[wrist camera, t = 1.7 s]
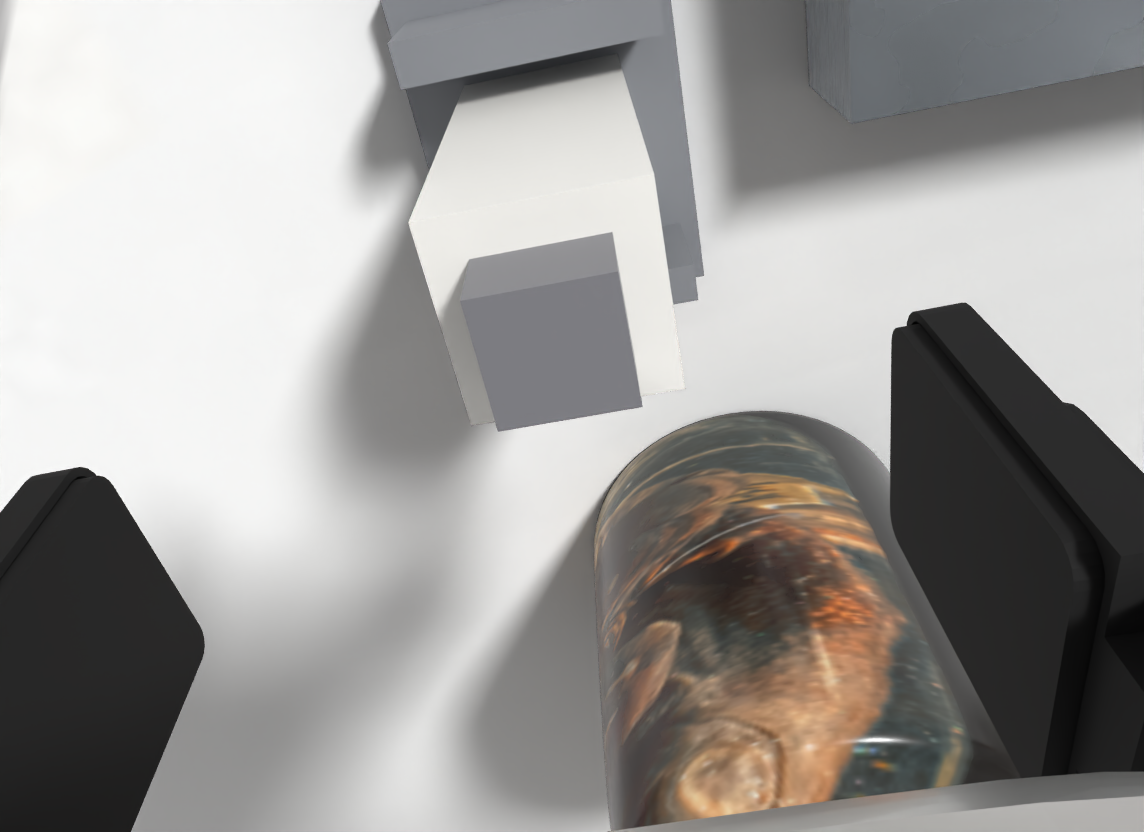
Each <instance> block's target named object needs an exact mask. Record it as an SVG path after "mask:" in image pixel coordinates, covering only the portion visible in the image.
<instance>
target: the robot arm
mask: <svg viewBox="0 0 1144 832" xmlns="http://www.w3.org/2000/svg"><path fill="white" fill-rule="evenodd" d="M890 517H891V523H892V527H893V531H894V534H895V537H896V540H897V542H898V544H899V546H900V548H901V550H902V552H903V553H904V555H905V557H906V559H907V561H908V563H909V565H910V567H911V569H912V571H913V573H914V574H915V576H916V578H917V580H918V582H919V584H920V586H921V588H922V590H923V592H924V594H925V595H926V597H927V599H928V601H929V603H930V605H931V607H932V609H933V611H934V613H935V615H936V616H937V618H938V620H939V622H940V624H941V626H942V628H943V630H944V632H945V634H946V635H947V637H948V639H949V641H950V643H951V645H952V647H953V649H954V651H955V653H956V655H957V656H958V658H959V660H960V662H961V664H962V666H963V668H964V670H965V672H966V674H967V676H968V677H969V679H970V681H971V683H972V685H973V687H974V689H975V691H976V693H977V695H978V697H979V698H980V700H981V702H982V704H983V706H984V708H985V710H986V712H987V714H988V716H989V718H990V719H991V721H992V723H993V725H994V727H995V729H996V731H997V733H998V735H999V737H1000V739H1001V740H1002V742H1003V744H1004V746H1005V748H1006V750H1007V752H1008V754H1009V756H1010V758H1011V759H1012V761H1013V763H1014V765H1015V767H1016V769H1017V771H1018V773H1019V775H1020V777H1021V778H1019V779H1006V780H996V781H988V782H980V783H972V784H964V785H956V786H947V787H939V788H931V789H923V790H915V791H907V792H899V793H890V794H882V795H874V796H866V797H858V798H850V799H841V800H833V801H825V802H817V803H809V804H802V805H795V806H788V807H781V808H774V809H766V810H759V811H752V812H745V813H738V814H731V815H723V816H716V817H709V818H702V819H695V820H688V821H680V822H673V823H666V824H659V825H652V826H645V827H637V828H630V829H623V830H616V831H609V832H1144V473H1143V472H1142V471H1141V470H1140V469H1139V468H1138V467H1137V466H1136V465H1135V464H1134V463H1133V462H1132V461H1131V460H1130V459H1129V458H1128V457H1127V456H1126V455H1125V454H1124V453H1123V452H1122V451H1121V450H1120V449H1119V448H1118V447H1117V446H1116V445H1115V444H1114V443H1113V442H1112V441H1111V440H1110V438H1109V437H1108V436H1107V435H1106V434H1105V433H1104V432H1103V431H1102V430H1101V429H1100V428H1099V427H1098V426H1097V425H1096V424H1095V423H1094V422H1093V421H1092V420H1091V419H1090V418H1089V417H1088V416H1087V415H1086V414H1085V413H1084V412H1083V411H1082V410H1080V409H1079V408H1078V407H1076V406H1075V405H1074V404H1069V403H1064V402H1062V401H1061V400H1060V399H1059V398H1058V397H1057V396H1056V395H1055V394H1054V393H1053V392H1052V391H1051V390H1050V388H1049V387H1048V386H1047V385H1046V384H1045V383H1044V382H1043V381H1042V380H1041V379H1040V378H1039V377H1038V376H1037V375H1036V374H1035V373H1034V372H1033V371H1032V370H1031V369H1030V368H1029V367H1028V365H1027V364H1026V363H1025V362H1024V361H1023V360H1022V359H1021V358H1020V357H1019V356H1018V355H1017V354H1016V353H1015V352H1014V351H1013V350H1012V349H1011V348H1010V347H1009V346H1008V345H1007V344H1006V343H1005V341H1004V340H1003V339H1002V338H1001V337H1000V336H999V335H998V334H997V333H996V332H995V331H994V330H993V329H992V328H991V327H990V326H989V325H988V324H987V323H986V322H985V321H984V320H983V319H982V317H981V316H980V315H979V314H978V313H977V312H976V311H975V310H974V309H973V308H972V307H971V306H970V305H968V304H967V303H958V304H953V305H947V306H942V307H936V308H931V309H926V310H920V311H915V312H912V313H911V314H910V315H909V318H908V321H907V326H904V327H899V328H895V330H894V331H893V334H892V352H891V449H890ZM204 646H205V645H204V636H203V632H202V630H201V627H200V625H199V624H198V622H197V621H196V619H195V617H194V616H193V614H192V612H191V611H190V609H189V608H188V606H187V604H186V603H185V601H184V599H183V598H182V596H181V595H180V593H179V591H178V590H177V588H176V587H175V585H174V583H173V582H172V580H171V578H170V577H169V575H168V574H167V572H166V570H165V569H164V567H163V566H162V564H161V562H160V561H159V559H158V557H157V556H156V554H155V553H154V551H153V549H152V548H151V546H150V544H149V543H148V541H147V540H146V538H145V536H144V535H143V533H142V532H141V530H140V528H139V527H138V525H137V523H136V522H135V520H134V519H133V517H132V515H131V514H130V512H129V510H128V509H127V507H126V506H125V504H124V502H123V501H122V499H121V498H120V496H119V494H118V493H117V491H116V489H115V488H114V486H113V485H112V484H111V482H110V481H109V480H108V479H106V478H105V477H102V476H96V474H95V473H94V472H92V471H91V470H89V469H88V468H83V467H78V468H72V469H67V470H62V471H56V472H51V473H45V474H40V475H36V476H32V477H31V478H29V479H28V480H27V481H26V482H25V483H24V484H23V485H22V486H21V488H20V489H19V490H18V491H17V493H16V494H15V495H14V496H13V498H12V499H11V500H10V501H9V503H8V504H7V505H6V506H5V507H4V509H3V510H2V511H1V512H0V832H131V830H132V827H133V825H134V823H135V820H136V818H137V815H138V813H139V811H140V808H141V806H142V803H143V801H144V798H145V796H146V794H147V791H148V789H149V786H150V784H151V781H152V779H153V777H154V774H155V772H156V769H157V767H158V765H159V762H160V760H161V757H162V755H163V752H164V750H165V748H166V745H167V743H168V740H169V738H170V736H171V733H172V731H173V728H174V726H175V723H176V721H177V719H178V716H179V714H180V711H181V709H182V707H183V704H184V702H185V699H186V697H187V694H188V692H189V690H190V687H191V685H192V682H193V680H194V677H195V675H196V673H197V670H198V668H199V665H200V663H201V661H202V658H203V654H204Z"/></svg>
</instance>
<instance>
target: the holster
mask: <svg viewBox="0 0 1144 832" xmlns="http://www.w3.org/2000/svg"><path fill="white" fill-rule="evenodd" d="M380 1H381V4H382V8H383V11H384V15H385V18H386V22H387V25H388V28H389V32H390V35H391V40H390V41H389V42H388V43H387V45H388V48H389V51H390V55H391V58H392V62H393V65H394V69H395V72H396V76H397V79H398V82H399V86H400V89H401V90H403V89H406V91H407V95H408V98H409V102H410V105H411V109H412V112H413V116H414V119H415V123H416V126H417V130H418V133H419V137H420V140H421V144H422V147H423V150H424V154H425V157H426V161H427V164H428V168H429V171H430V168H431V166H432V163H433V161H434V159H435V156H436V154H437V151H438V149H439V146H440V144H441V141H442V139H443V137H444V134H445V132H446V129H447V127H448V124H449V122H450V119H451V117H452V115H453V112H454V110H455V107H456V105H457V102H458V100H459V97H460V95H461V93H462V90H463V88H464V86H465V85H470V84H475V83H480V82H484V81H489V80H494V79H499V78H503V77H508V76H513V75H518V74H522V73H527V72H532V71H537V70H542V69H546V68H551V67H556V66H561V65H565V64H570V63H575V62H580V61H584V60H589V59H594V58H599V57H603V56H608V55H613V54H617V55H618V58H619V61H620V65H621V68H622V71H623V74H624V78H625V81H626V84H627V87H628V91H629V94H630V97H631V100H632V104H633V107H634V110H635V113H636V117H637V120H638V123H639V126H640V130H641V133H642V136H643V139H644V143H645V146H646V149H647V152H648V156H649V159H650V162H651V165H652V169H653V172H654V176H655V183H656V190H657V197H658V204H659V211H660V218H661V224H662V231H663V238H664V245H665V252H666V259H667V266H668V273H669V280H670V287H671V294H672V300H673V304H678V303H684V302H689V301H695V300H698V294H697V286H696V278H695V277H700V276H704V271H703V263H702V254H701V246H700V238H699V229H698V221H697V213H696V205H695V196H694V188H693V180H692V172H691V163H690V155H689V147H688V138H687V130H686V122H685V114H684V105H683V97H682V89H681V81H680V72H679V64H678V56H677V47H676V39H675V31H674V23H673V14H672V6H671V0H380Z"/></svg>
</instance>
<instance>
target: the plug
mask: <svg viewBox="0 0 1144 832" xmlns="http://www.w3.org/2000/svg"><path fill="white" fill-rule="evenodd" d="M408 224H409V227H410V230H411V233H412V237H413V240H414V243H415V246H416V250H417V253H418V256H419V259H420V262H421V266H422V269H423V272H424V275H425V279H426V282H427V285H428V288H429V291H430V295H431V298H432V301H433V304H434V308H435V311H436V314H437V317H438V320H439V324H440V327H441V330H442V333H443V337H444V340H445V343H446V346H447V349H448V353H449V356H450V359H451V362H452V366H453V369H454V372H455V375H456V378H457V382H458V385H459V388H460V391H461V395H462V398H463V401H464V404H465V407H466V411H467V414H468V417H469V420H470V423H471V426H474V425H480V424H485V423H491V422H495V423H496V426H497V430H498V432H499V431H505V430H511V429H516V428H522V427H528V426H534V425H540V424H546V423H551V422H557V421H563V420H569V419H575V418H581V417H586V416H592V415H598V414H604V413H610V412H615V411H621V410H627V409H633V408H639V407H642V401H641V397H642V396H647V395H653V394H659V393H665V392H671V391H676V390H682V389H685V383H684V376H683V370H682V363H681V356H680V349H679V342H678V335H677V328H676V321H675V314H674V307H673V300H672V294H671V287H670V280H669V273H668V266H667V259H666V252H665V245H664V238H663V231H662V224H661V218H660V211H659V204H658V197H657V190H656V183H655V176H654V172H653V169H652V165H651V162H650V159H649V156H648V152H647V149H646V146H645V143H644V139H643V136H642V133H641V130H640V126H639V123H638V120H637V117H636V113H635V110H634V107H633V104H632V100H631V97H630V94H629V91H628V87H627V84H626V81H625V78H624V74H623V71H622V68H621V65H620V61H619V58H618V55H617V54H613V55H608V56H603V57H599V58H594V59H589V60H584V61H580V62H575V63H570V64H565V65H561V66H556V67H551V68H546V69H542V70H537V71H532V72H527V73H522V74H518V75H513V76H508V77H503V78H499V79H494V80H489V81H484V82H480V83H475V84H470V85H465V86H464V88H463V90H462V93H461V95H460V97H459V100H458V102H457V105H456V107H455V110H454V112H453V115H452V117H451V119H450V122H449V124H448V127H447V129H446V132H445V134H444V137H443V139H442V141H441V144H440V146H439V149H438V151H437V154H436V156H435V159H434V161H433V163H432V166H431V168H430V171H429V173H428V176H427V178H426V180H425V183H424V185H423V188H422V190H421V193H420V195H419V198H418V200H417V202H416V205H415V207H414V210H413V212H412V215H411V217H410V220H409V222H408Z"/></svg>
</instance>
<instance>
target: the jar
mask: <svg viewBox="0 0 1144 832" xmlns="http://www.w3.org/2000/svg"><path fill="white" fill-rule="evenodd" d="M594 572H595V596H596V618H597V638H598V657H599V676H600V693H601V709H602V726H603V742H604V756H605V769H606V782H607V796H608V808H609V818H610V827H611V831H616V830H623V829H630V828H637V827H645V826H652V825H659V824H666V823H673V822H680V821H688V820H695V819H702V818H709V817H716V816H723V815H731V814H738V813H745V812H752V811H759V810H766V809H774V808H781V807H788V806H795V805H802V804H809V803H817V802H825V801H833V800H841V799H850V798H858V797H866V796H874V795H882V794H890V793H899V792H907V791H915V790H923V789H931V788H939V787H947V786H956V785H964V784H972V783H980V782H988V781H996V780H1006V779H1019V778H1021V777H1020V775H1019V773H1018V771H1017V769H1016V767H1015V765H1014V763H1013V761H1012V759H1011V758H1010V756H1009V754H1008V752H1007V750H1006V748H1005V746H1004V744H1003V742H1002V740H1001V739H1000V737H999V735H998V733H997V731H996V729H995V727H994V725H993V723H992V721H991V719H990V718H989V716H988V714H987V712H986V710H985V708H984V706H983V704H982V702H981V700H980V698H979V697H978V695H977V693H976V691H975V689H974V687H973V685H972V683H971V681H970V679H969V677H968V676H967V674H966V672H965V670H964V668H963V666H962V664H961V662H960V660H959V658H958V656H957V655H956V653H955V651H954V649H953V647H952V645H951V643H950V641H949V639H948V637H947V635H946V634H945V632H944V630H943V628H942V626H941V624H940V622H939V620H938V618H937V616H936V615H935V613H934V611H933V609H932V607H931V605H930V603H929V601H928V599H927V597H926V595H925V594H924V592H923V590H922V588H921V586H920V584H919V582H918V580H917V578H916V576H915V574H914V573H913V571H912V569H911V567H910V565H909V563H908V561H907V559H906V557H905V555H904V553H903V552H902V550H901V548H900V546H899V544H898V542H897V540H896V537H895V534H894V531H893V527H892V523H891V517H890V473H889V471H888V470H887V469H886V467H885V466H884V464H883V463H882V462H881V461H880V460H879V459H878V458H877V456H876V455H875V454H874V453H873V452H872V451H871V450H870V449H869V448H867V447H866V446H865V445H864V444H863V443H861V442H860V441H859V440H857V439H856V438H855V437H853V436H851V435H850V434H848V433H846V432H845V431H843V430H841V429H839V428H837V427H835V426H833V425H831V424H828V423H825V422H823V421H820V420H817V419H814V418H810V417H806V416H802V415H797V414H792V413H784V412H775V411H750V412H739V413H731V414H726V415H721V416H716V417H712V418H708V419H705V420H701V421H699V422H696V423H693V424H690V425H688V426H685V427H683V428H681V429H679V430H676V431H674V432H672V433H671V434H669V435H667V436H665V437H663V438H662V439H660V440H659V441H657V442H656V443H654V444H652V445H651V446H650V447H648V448H647V449H646V450H644V451H643V452H642V453H641V454H639V455H638V456H637V457H636V458H635V459H634V460H633V461H632V462H631V463H630V464H629V465H628V466H627V467H626V468H625V469H624V470H623V472H622V473H621V474H620V475H619V477H618V478H617V479H616V481H615V482H614V484H613V485H612V487H611V488H610V490H609V492H608V494H607V496H606V498H605V500H604V502H603V504H602V507H601V510H600V512H599V516H598V520H597V524H596V530H595V538H594Z"/></svg>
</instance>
